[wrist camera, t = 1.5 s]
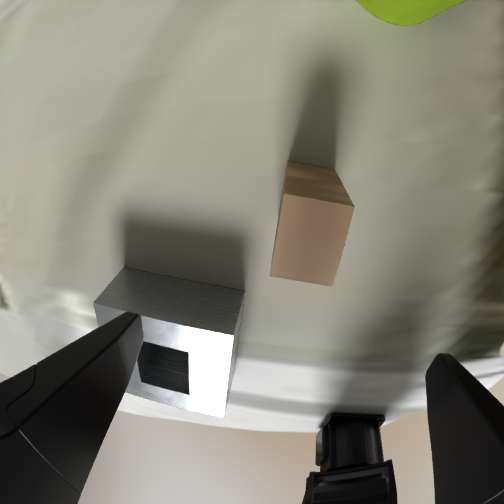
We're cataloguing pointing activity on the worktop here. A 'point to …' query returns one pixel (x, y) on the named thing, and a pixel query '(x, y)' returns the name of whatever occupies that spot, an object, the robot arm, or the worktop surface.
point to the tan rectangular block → (311, 225)
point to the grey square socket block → (178, 337)
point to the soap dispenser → (407, 9)
